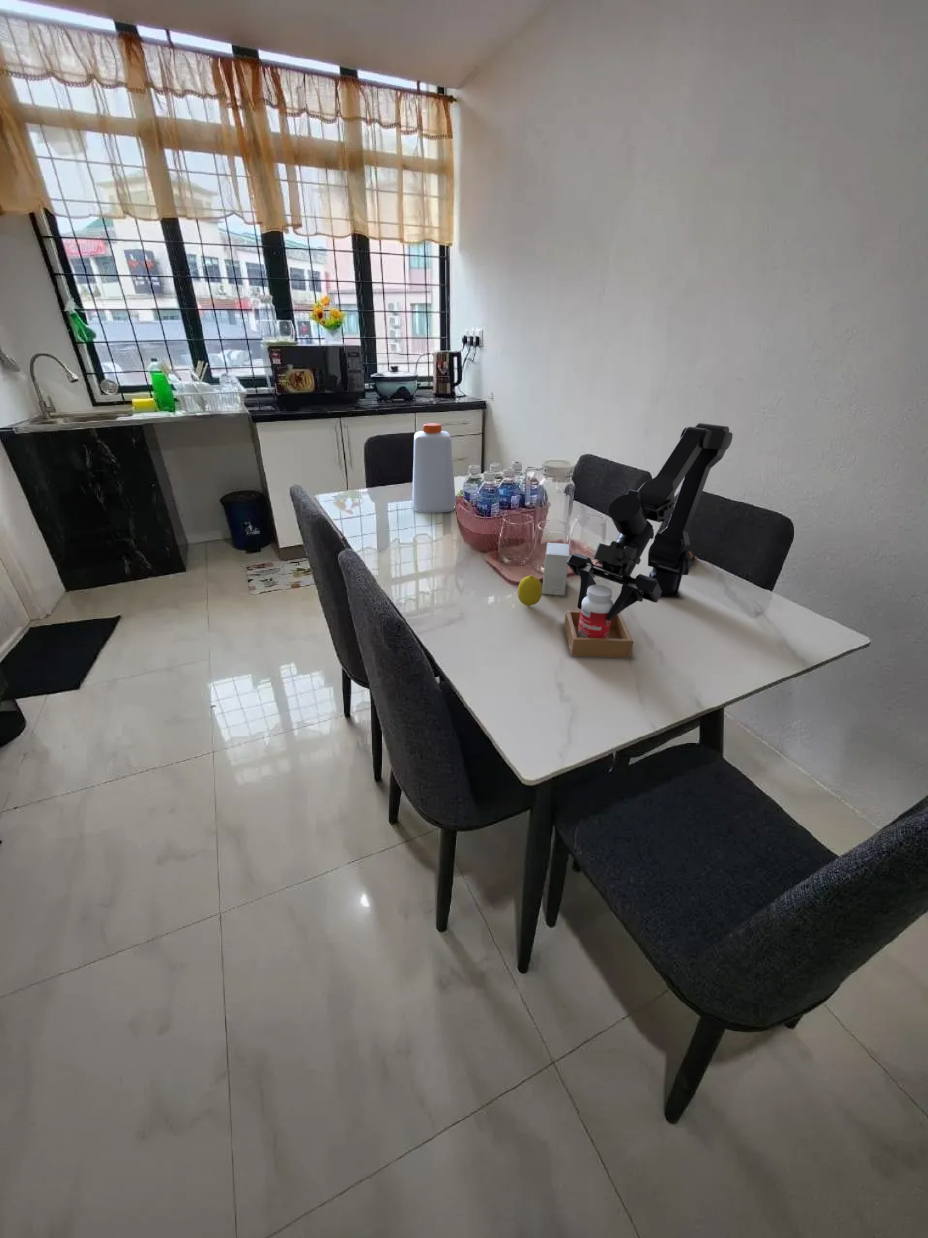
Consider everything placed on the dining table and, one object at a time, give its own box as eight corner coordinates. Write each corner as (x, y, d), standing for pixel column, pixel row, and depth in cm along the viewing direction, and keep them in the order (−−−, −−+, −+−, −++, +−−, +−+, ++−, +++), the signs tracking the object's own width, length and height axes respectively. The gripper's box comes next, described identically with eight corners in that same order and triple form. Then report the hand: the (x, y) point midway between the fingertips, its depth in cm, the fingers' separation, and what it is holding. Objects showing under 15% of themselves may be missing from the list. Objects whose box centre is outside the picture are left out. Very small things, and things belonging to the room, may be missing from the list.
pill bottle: (571, 638, 103) (577, 590, 97) (585, 626, 107) (592, 579, 101) (598, 649, 99) (607, 600, 94) (612, 636, 103) (621, 589, 98)
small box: (564, 596, 122) (569, 556, 116) (541, 594, 122) (545, 554, 117) (565, 582, 128) (570, 543, 123) (543, 580, 129) (547, 541, 124)
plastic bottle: (412, 500, 186) (409, 420, 171) (452, 499, 187) (453, 420, 173) (413, 514, 173) (409, 428, 158) (456, 513, 174) (457, 428, 160)
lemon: (542, 603, 118) (545, 572, 114) (537, 614, 114) (540, 582, 110) (519, 599, 120) (522, 568, 116) (513, 609, 115) (516, 578, 111)
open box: (617, 627, 109) (620, 611, 107) (630, 657, 99) (633, 641, 97) (563, 625, 110) (565, 610, 108) (571, 655, 100) (573, 639, 98)
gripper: (577, 514, 99) (539, 582, 98) (668, 539, 88) (627, 616, 87) (592, 541, 108) (558, 603, 107) (677, 566, 97) (639, 636, 96)
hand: (592, 614), depth 99 cm, fingers closed on pill bottle, 6 cm apart
